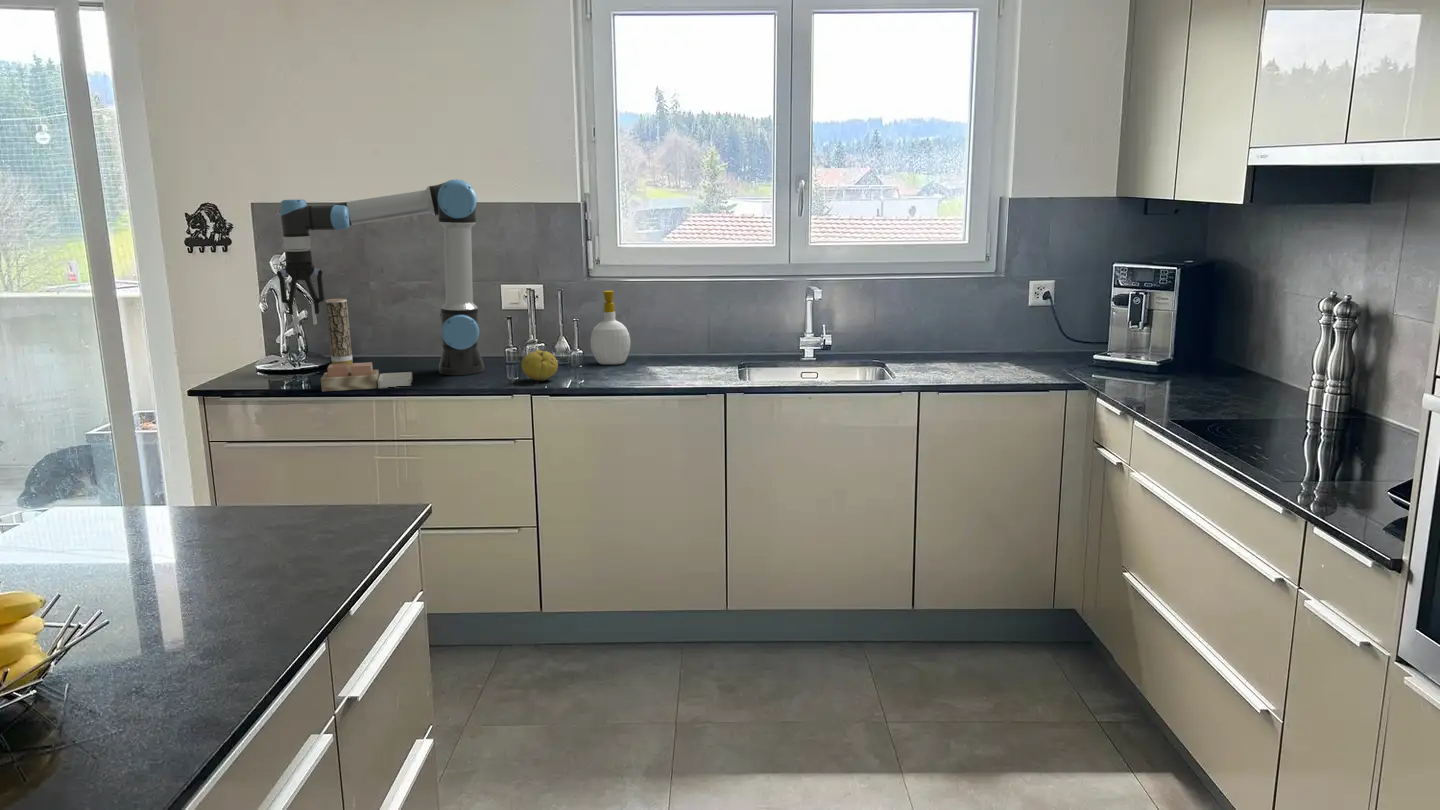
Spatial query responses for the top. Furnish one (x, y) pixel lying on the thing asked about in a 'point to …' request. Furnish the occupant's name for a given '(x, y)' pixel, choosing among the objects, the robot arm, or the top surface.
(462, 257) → the robot arm
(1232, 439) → the top surface
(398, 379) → the tray
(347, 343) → the bark textured cylinder
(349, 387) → the board
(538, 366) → the fruit
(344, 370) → the tile
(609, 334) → the soap bottle
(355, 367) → the tile
